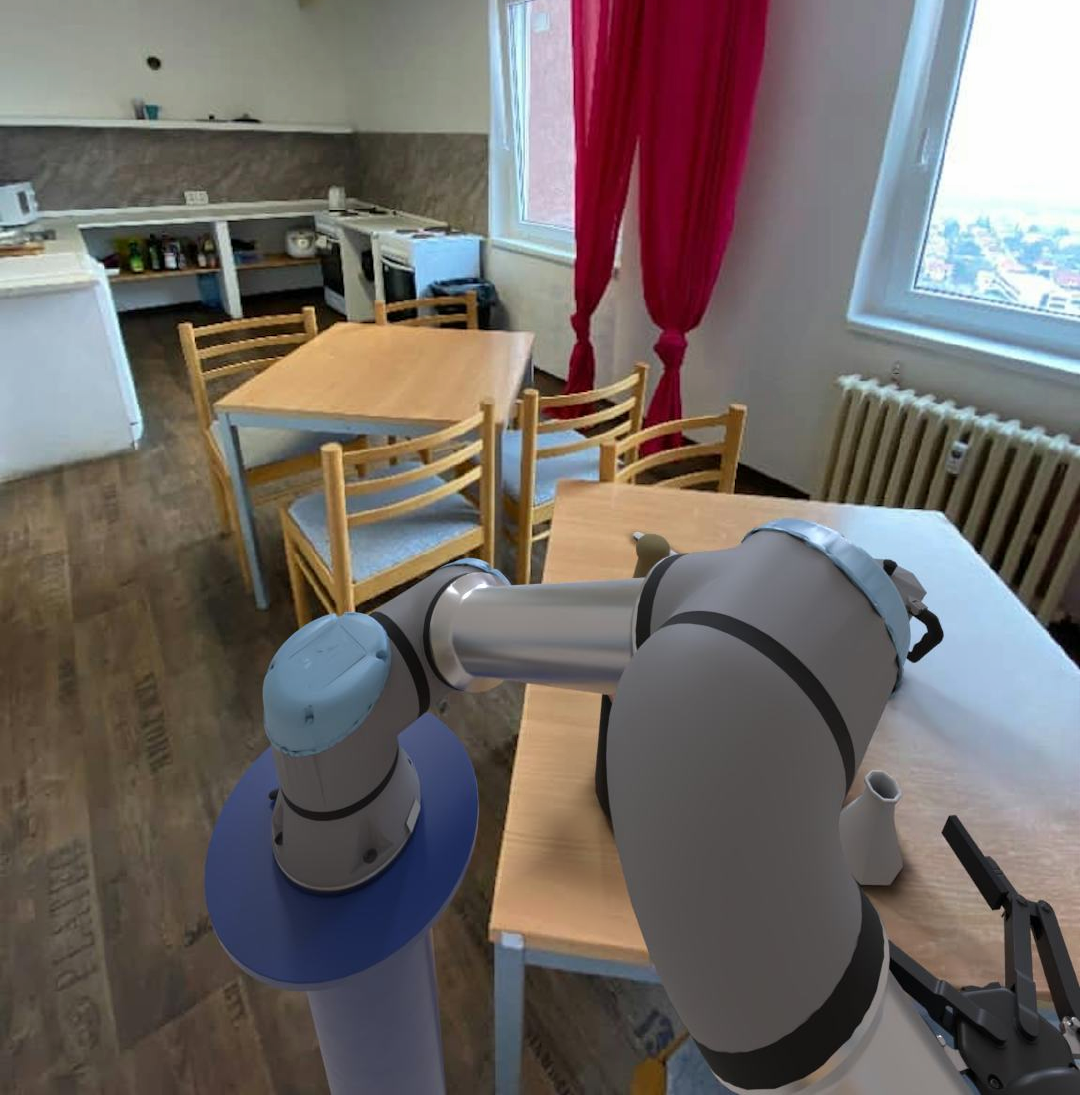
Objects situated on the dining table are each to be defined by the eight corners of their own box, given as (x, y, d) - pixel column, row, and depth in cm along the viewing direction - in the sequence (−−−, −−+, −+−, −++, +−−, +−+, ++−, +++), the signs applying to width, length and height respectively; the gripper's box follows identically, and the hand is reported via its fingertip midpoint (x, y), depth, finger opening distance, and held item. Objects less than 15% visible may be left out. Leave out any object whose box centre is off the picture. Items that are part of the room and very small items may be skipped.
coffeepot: (800, 636, 89) (824, 536, 82) (851, 623, 92) (879, 525, 85) (883, 728, 76) (920, 619, 69) (940, 710, 78) (982, 602, 72)
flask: (808, 824, 65) (827, 761, 61) (861, 803, 67) (882, 741, 64) (860, 899, 59) (884, 835, 55) (916, 874, 61) (944, 810, 57)
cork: (667, 586, 98) (674, 531, 94) (665, 613, 93) (673, 556, 89) (630, 580, 100) (635, 525, 95) (626, 606, 94) (632, 549, 90)
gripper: (893, 1226, 40) (756, 865, 60) (1224, 1171, 43) (989, 842, 62) (923, 1180, 37) (769, 817, 57) (1276, 1124, 40) (1012, 794, 59)
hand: (884, 829), depth 59 cm, fingers open, 13 cm apart
